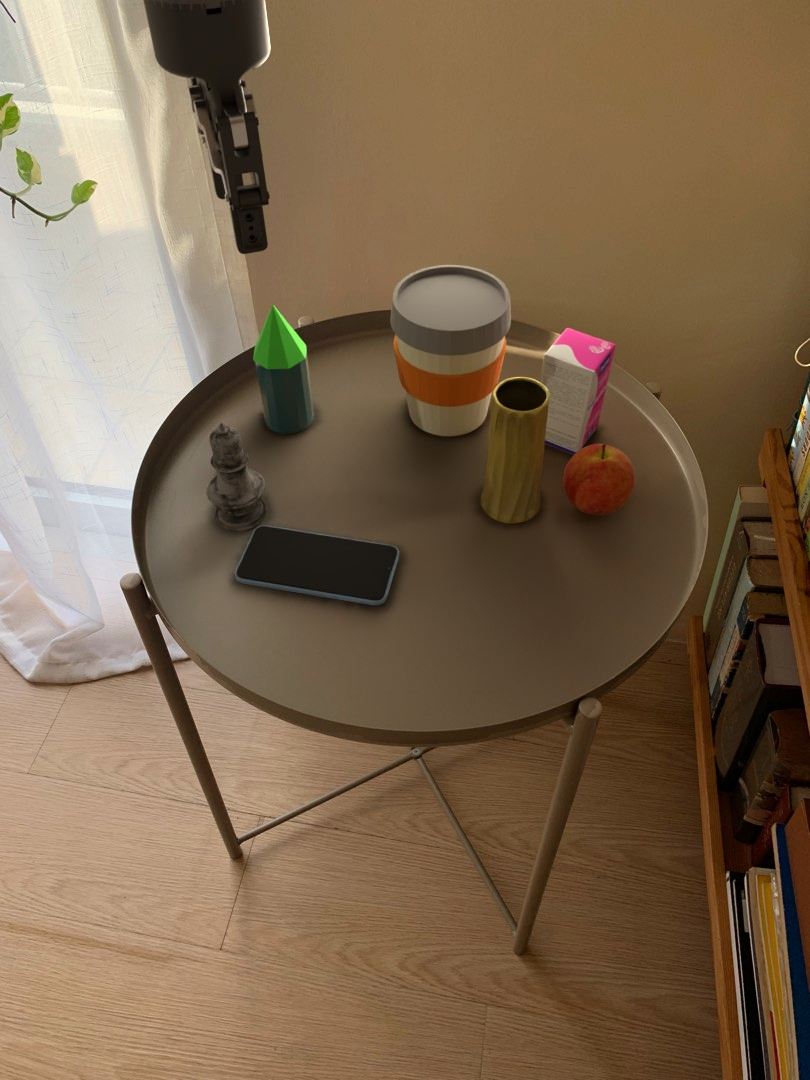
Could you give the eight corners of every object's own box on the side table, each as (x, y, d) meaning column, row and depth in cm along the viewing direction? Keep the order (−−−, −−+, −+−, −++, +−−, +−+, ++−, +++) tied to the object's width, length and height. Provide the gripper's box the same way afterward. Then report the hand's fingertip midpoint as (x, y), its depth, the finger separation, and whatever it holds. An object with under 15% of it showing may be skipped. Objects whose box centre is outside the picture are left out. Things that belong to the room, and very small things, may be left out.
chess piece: (266, 533, 89) (248, 444, 80) (208, 533, 89) (184, 444, 80) (272, 491, 93) (256, 402, 84) (217, 491, 93) (195, 402, 84)
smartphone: (256, 522, 89) (401, 545, 86) (257, 528, 89) (401, 550, 87) (230, 578, 84) (384, 603, 82) (232, 583, 85) (384, 609, 82)
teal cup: (270, 438, 99) (259, 373, 92) (260, 407, 102) (248, 343, 95) (319, 427, 100) (311, 362, 93) (307, 397, 103) (299, 332, 97)
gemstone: (244, 344, 95) (235, 296, 91) (297, 330, 97) (291, 282, 92) (261, 376, 92) (253, 327, 87) (316, 361, 93) (310, 312, 89)
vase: (472, 515, 90) (478, 406, 80) (491, 476, 94) (500, 367, 83) (530, 531, 89) (544, 422, 78) (547, 491, 92) (563, 381, 82)
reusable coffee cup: (433, 363, 107) (435, 251, 96) (523, 401, 102) (535, 287, 91) (371, 419, 100) (364, 305, 89) (463, 462, 95) (469, 347, 84)
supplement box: (578, 457, 96) (594, 372, 87) (529, 438, 98) (539, 354, 89) (600, 427, 99) (617, 342, 90) (552, 409, 101) (564, 325, 93)
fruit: (633, 528, 89) (648, 470, 83) (564, 530, 89) (574, 472, 83) (621, 480, 93) (634, 422, 87) (555, 481, 93) (564, 423, 87)
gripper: (127, -48, 59) (177, 188, 71) (155, 24, 50) (208, 280, 62) (238, -60, 60) (269, 173, 72) (286, 7, 51) (312, 260, 63)
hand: (241, 222), depth 67 cm, fingers open, 8 cm apart
